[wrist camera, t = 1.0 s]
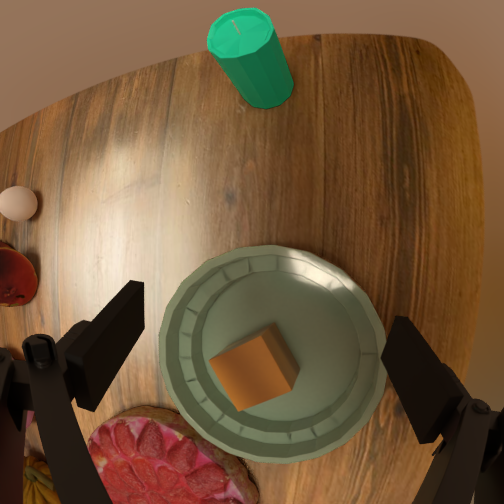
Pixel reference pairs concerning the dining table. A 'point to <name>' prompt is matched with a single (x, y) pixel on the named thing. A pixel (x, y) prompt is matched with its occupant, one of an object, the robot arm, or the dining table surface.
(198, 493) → the cake
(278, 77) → the candle
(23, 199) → the egg
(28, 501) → the fruit
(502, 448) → the robot arm
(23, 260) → the mushroom
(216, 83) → the dining table surface
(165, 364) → the bowl
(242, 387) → the block
